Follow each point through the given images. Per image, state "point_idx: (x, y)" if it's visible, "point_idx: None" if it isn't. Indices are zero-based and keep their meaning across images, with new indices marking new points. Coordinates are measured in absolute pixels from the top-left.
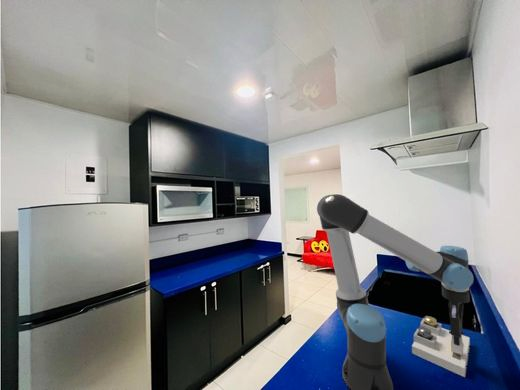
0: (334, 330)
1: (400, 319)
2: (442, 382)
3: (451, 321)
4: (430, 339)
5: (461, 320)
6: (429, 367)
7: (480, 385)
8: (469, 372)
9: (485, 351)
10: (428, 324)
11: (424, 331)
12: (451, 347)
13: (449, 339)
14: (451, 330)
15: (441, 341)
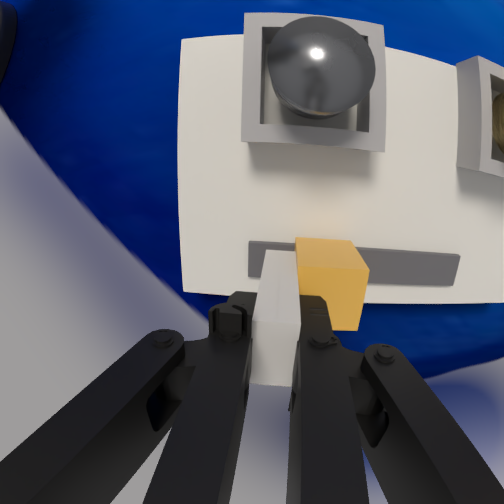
0: None
1: (500, 5)
2: (96, 202)
3: (23, 461)
4: (298, 114)
5: (382, 488)
6: (148, 142)
7: (198, 314)
8: None
9: (472, 329)
10: (499, 108)
11: (278, 61)
12: (296, 248)
13: (452, 221)
14: (115, 369)
15: (398, 178)
